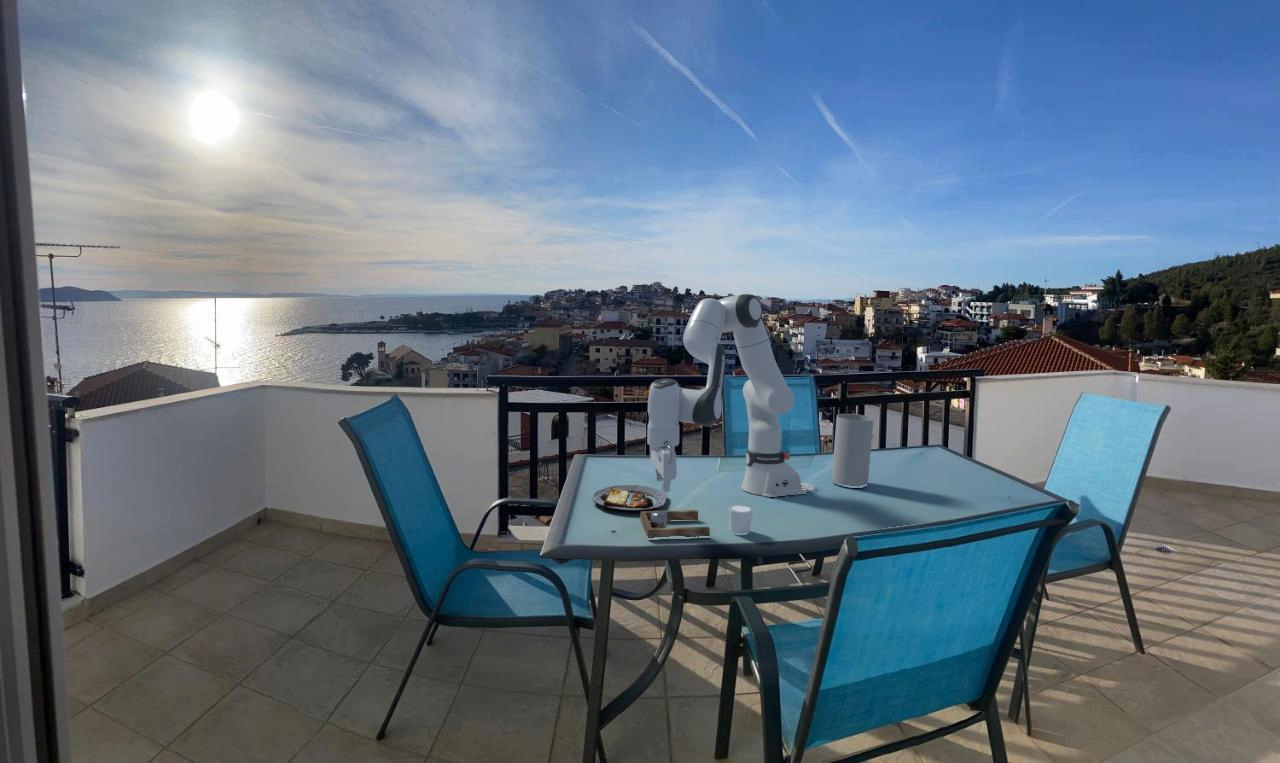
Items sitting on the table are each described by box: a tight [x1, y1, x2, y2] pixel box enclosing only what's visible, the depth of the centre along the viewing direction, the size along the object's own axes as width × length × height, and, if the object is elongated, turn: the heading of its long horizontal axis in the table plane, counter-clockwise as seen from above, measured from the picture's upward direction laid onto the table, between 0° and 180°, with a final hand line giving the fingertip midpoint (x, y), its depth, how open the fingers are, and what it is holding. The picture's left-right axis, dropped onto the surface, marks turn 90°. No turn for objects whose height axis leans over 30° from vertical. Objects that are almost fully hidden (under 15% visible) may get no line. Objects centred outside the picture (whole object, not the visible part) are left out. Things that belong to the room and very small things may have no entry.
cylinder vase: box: [831, 413, 874, 486], centre depth 217 cm, size 12×12×25 cm
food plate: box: [591, 484, 668, 512], centre depth 193 cm, size 25×23×4 cm
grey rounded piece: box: [650, 510, 668, 528], centre depth 170 cm, size 5×5×5 cm
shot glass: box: [728, 504, 754, 534], centre depth 170 cm, size 7×7×7 cm
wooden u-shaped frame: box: [639, 509, 711, 538], centre depth 170 cm, size 17×14×3 cm
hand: (662, 485), depth 168 cm, fingers open, 8 cm apart
